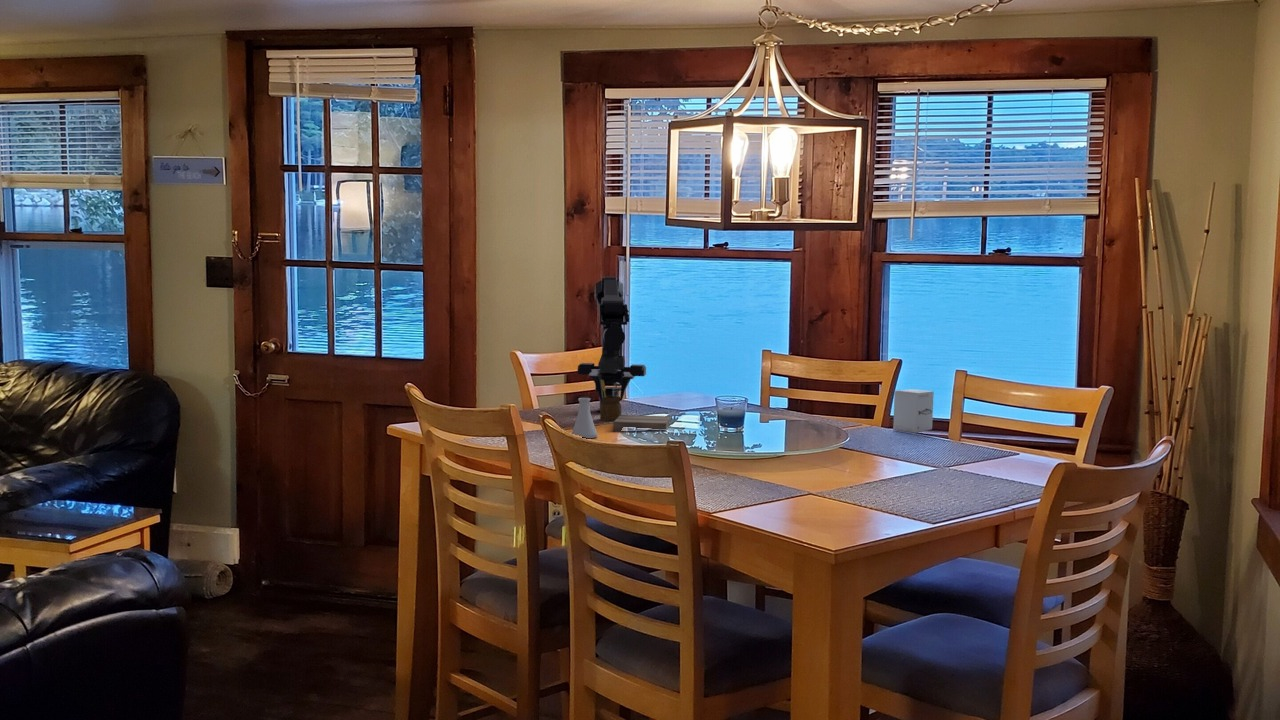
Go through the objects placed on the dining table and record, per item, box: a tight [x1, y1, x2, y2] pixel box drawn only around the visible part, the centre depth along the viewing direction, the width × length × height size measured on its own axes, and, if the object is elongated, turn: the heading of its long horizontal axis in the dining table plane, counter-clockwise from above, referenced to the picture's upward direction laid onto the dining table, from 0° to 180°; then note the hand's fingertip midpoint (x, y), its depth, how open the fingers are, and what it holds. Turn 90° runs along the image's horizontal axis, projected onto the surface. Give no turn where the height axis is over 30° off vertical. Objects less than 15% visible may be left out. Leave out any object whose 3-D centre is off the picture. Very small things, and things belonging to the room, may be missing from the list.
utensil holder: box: [599, 380, 622, 422], centre depth 321 cm, size 6×6×12 cm
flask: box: [571, 397, 598, 439], centre depth 293 cm, size 7×7×10 cm
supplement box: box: [892, 388, 934, 434], centre depth 296 cm, size 7×7×13 cm
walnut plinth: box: [612, 414, 672, 432], centre depth 310 cm, size 14×14×2 cm
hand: (611, 400), depth 322 cm, fingers open, 5 cm apart
